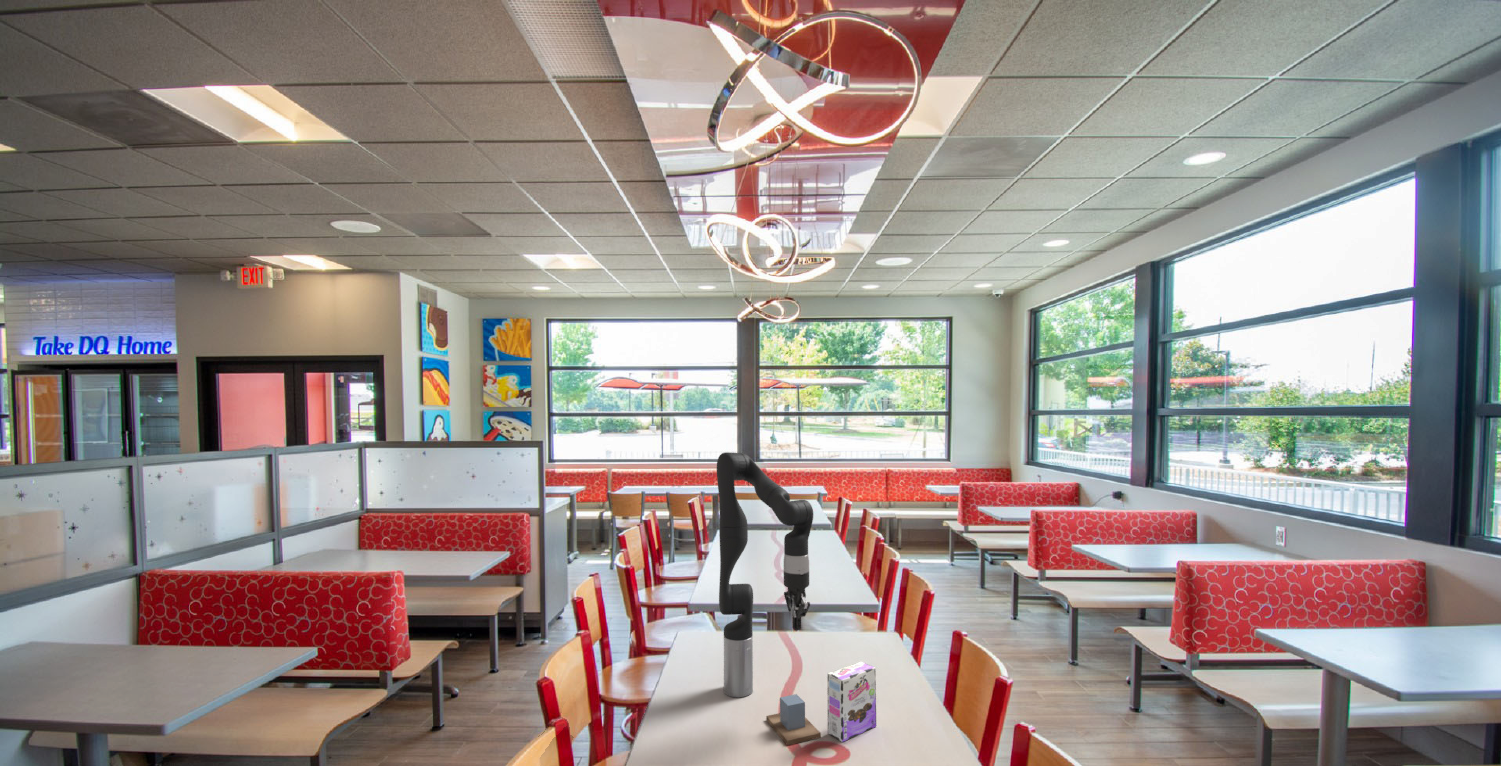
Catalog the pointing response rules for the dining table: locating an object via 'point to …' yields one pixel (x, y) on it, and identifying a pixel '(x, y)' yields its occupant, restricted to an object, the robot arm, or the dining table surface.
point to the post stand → (795, 734)
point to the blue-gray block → (792, 712)
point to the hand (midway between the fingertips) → (796, 629)
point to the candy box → (851, 701)
